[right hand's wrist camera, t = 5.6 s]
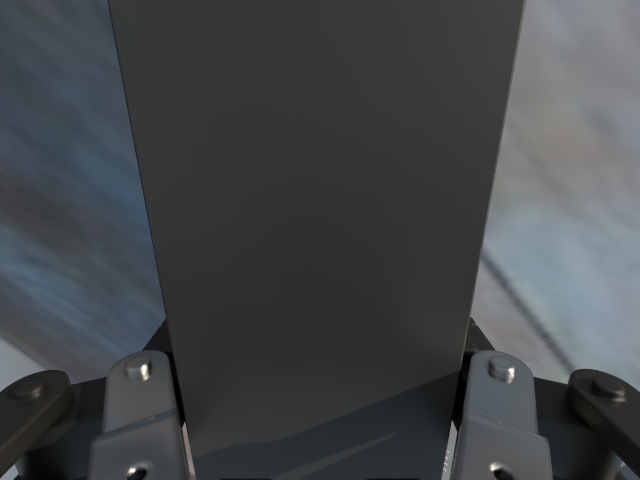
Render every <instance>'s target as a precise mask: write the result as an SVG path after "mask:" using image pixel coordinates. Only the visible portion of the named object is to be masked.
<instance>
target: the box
mask: <svg viewBox="0 0 640 480" xmlns="http://www.w3.org/2000/svg"><path fill="white" fill-rule="evenodd" d="M525 3H526V0H108V5H109V11H110V16H111V21H112V27H113V32H114V38H115V43H116V49H117V54H118V59H119V65H120V70H121V76H122V81H123V86H124V92H125V97H126V103H127V108H128V113H129V119H130V124H131V130H132V135H133V141H134V146H135V151H136V157H137V162H138V168H139V173H140V178H141V184H142V189H143V195H144V200H145V205H146V211H147V216H148V222H149V227H150V233H151V238H152V243H153V249H154V254H155V260H156V265H157V270H158V276H159V281H160V287H161V292H162V297H163V303H164V308H165V314H166V319H167V325H168V330H169V335H170V341H171V346H172V352H173V357H174V362H175V368H176V373H177V379H178V384H179V390H180V395H181V400H182V406H183V411H184V417H185V422H186V427H187V433H188V438H189V444H190V449H191V454H192V460H193V465H194V471H195V476H196V480H220V479H221V478H270V479H273V480H367V479H370V478H419V479H420V480H441V478H442V472H443V467H444V461H445V455H446V450H447V444H448V438H449V433H450V427H451V421H452V416H453V410H454V405H455V399H456V393H457V388H458V382H459V376H460V371H461V365H462V359H463V354H464V348H465V342H466V337H467V331H468V325H469V320H470V314H471V308H472V303H473V297H474V291H475V286H476V280H477V275H478V269H479V263H480V258H481V252H482V246H483V241H484V235H485V229H486V224H487V218H488V212H489V207H490V201H491V195H492V190H493V184H494V178H495V173H496V167H497V161H498V156H499V150H500V145H501V139H502V133H503V128H504V122H505V116H506V111H507V105H508V99H509V94H510V88H511V82H512V77H513V71H514V65H515V60H516V54H517V48H518V43H519V37H520V31H521V26H522V20H523V15H524V9H525Z"/></svg>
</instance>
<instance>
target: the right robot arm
mask: <svg viewBox="0 0 640 480" xmlns="http://www.w3.org/2000/svg"><path fill="white" fill-rule="evenodd" d="M452 420H453V423H454V425H455V427H456V430H457V437H456V442H455V448H454V454H453V461H452V467H451V473H450V479H449V480H626V479H625V478H624V477H623V475H622V474H621V473H620V472H619V471H618V470H619V468H620V465H621V463H622V461H623V462H624V463H625V464H626V465H627V466H628V467H629V468H630V469H631V470H632V471H633V472H634V473H635V474H636V475H637V476H638V477H639V478H640V392H639V391H638V390H636V389H635V388H634V387H632V386H631V385H630V384H628V383H626V382H625V381H623V380H621V379H619V378H617V377H615V376H613V375H611V374H608V373H605V372H601V371H598V370H592V369H579V370H576V371H574V372H572V374H571V375H570V378H569V381H568V384H563V383H559V382H554V381H549V380H545V379H540V378H536V377H533V374H532V372H531V370H530V369H529V368H528V366H527V365H526V364H524V363H523V362H522V361H520V360H519V359H517V358H515V357H514V356H511V355H509V354H507V353H503V352H500V351H496V350H495V349H494V348H493V346H492V345H491V343H490V342H489V341H488V339H487V338H486V337H485V335H484V334H483V332H482V331H481V330H480V328H479V327H478V326H476V323H475V321H474V320H473V319H472V318H470V320H469V325H468V331H467V337H466V342H465V348H464V354H463V359H462V365H461V371H460V376H459V382H458V388H457V393H456V399H455V405H454V410H453V416H452ZM184 422H185V417H184V411H183V406H182V400H181V395H180V390H179V384H178V379H177V373H176V368H175V362H174V357H173V352H172V346H171V341H170V335H169V330H168V325H167V319H165V320H164V322H163V323H162V326H160V327H159V328H158V330H157V331H156V333H155V334H154V335H153V337H152V338H151V339H150V341H149V342H148V343H147V345H146V346H145V347H144V349H143V350H142V351H140V352H137V353H133V354H131V355H129V356H127V357H125V358H123V359H121V360H120V361H118V362H117V363H116V364H114V365H113V366H112V368H111V369H110V370H109V372H108V374H107V377H104V378H100V379H96V380H91V381H87V382H82V383H78V384H73V385H71V383H70V380H69V377H68V375H67V374H66V373H65V372H63V371H59V370H47V371H41V372H38V373H34V374H31V375H29V376H26V377H24V378H21V379H19V380H18V381H16V382H14V383H12V384H11V385H9V386H8V387H6V388H5V389H4V390H2V391H1V392H0V478H1V477H2V476H3V475H4V474H5V473H6V472H7V471H8V470H9V469H10V468H11V467H12V466H13V465H14V464H15V466H16V468H17V471H18V473H19V474H18V475H17V477H16V478H15V479H14V480H191V479H190V473H189V467H188V460H187V454H186V448H185V442H184V436H183V431H182V427H183V425H184ZM220 480H273V479H270V478H221V479H220ZM367 480H420V479H419V478H370V479H367Z"/></svg>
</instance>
